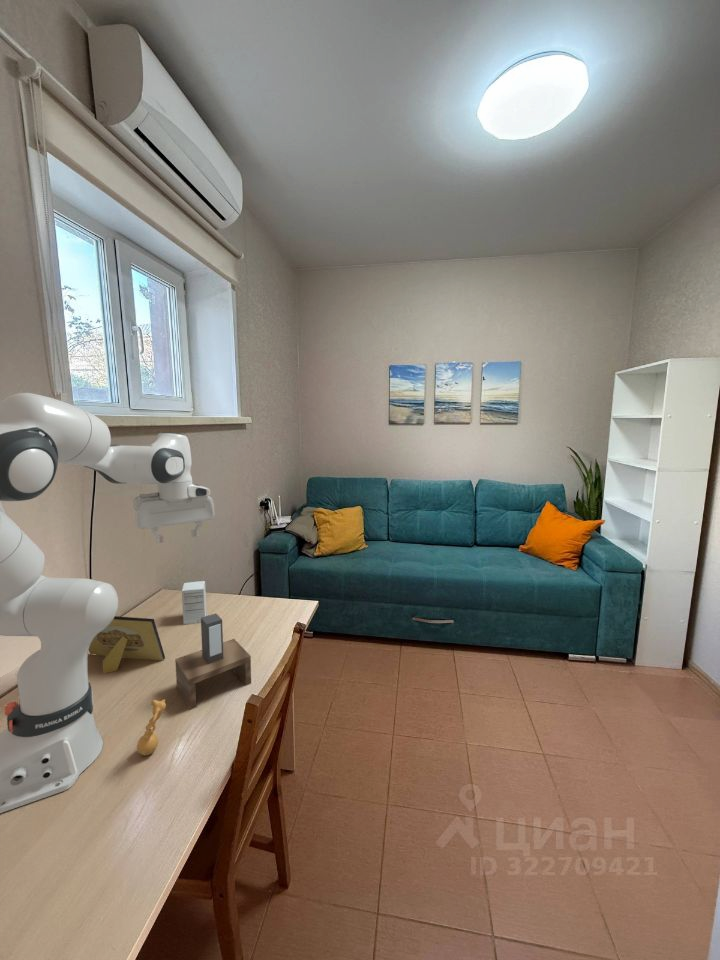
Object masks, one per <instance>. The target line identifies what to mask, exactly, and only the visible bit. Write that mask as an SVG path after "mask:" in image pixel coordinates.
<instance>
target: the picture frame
mask: <svg viewBox="0 0 720 960" xmlns="http://www.w3.org/2000/svg"><path fill="white" fill-rule="evenodd" d="M163 649H164V648H163V646H162V642H161V639H160V636H159V632H158V628H157V625H156V622H155V618H148V617H147V618H144V617H134V616H133V617H130V616H118V615H115V617H114V618H113V620H112V621H111V623H110V624H109V625H108V626H107V627H106V628H105V629H104V630H102V631H101V632H100V633H98V634H97V635H96V636H95V638H94V639H93V640H92V642H91V644H90V647H89V651H88V653H90V654H89V655H91V654H96V655H95V656H98V655H105V656H104V657H105V658H104V659H103V660H102V672H103V673H102V674H107V673H111V672H116V671H118V669H119V666H120V663H121V661H122V658H127V659H136V660H137V659H140V660H150V661H164V660H165V659H166V655H165V653H164V650H163Z"/></svg>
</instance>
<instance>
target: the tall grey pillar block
mask: <svg viewBox="0 0 720 960" xmlns="http://www.w3.org/2000/svg"><path fill="white" fill-rule="evenodd" d="M200 631H201V633H200V634H201V635H200V636H201V650H202V657H203V658H204V659H205V661H206V662H207V663H208V664H210V663H213V662H216V661H218V660H221V659H223V642H224V638H223V637H224V635H223V619H222V618H221V617H220V616H219V614H218V613H212V614H208V615H206V616H205V617H202V618H201V622H200Z"/></svg>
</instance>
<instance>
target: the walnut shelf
mask: <svg viewBox="0 0 720 960" xmlns="http://www.w3.org/2000/svg"><path fill="white" fill-rule="evenodd" d="M251 658H252V657H251V655H250V654H249V652H248V651H247V650H246V649H245V648H244V647H243V646H242V645H241V644H240V643H239V642H238V641H237V640H236V639H235V638H232V639H229V640H227V641H223V659H221V660H218V661H216V662H213V663H210V664H208V663H207V662H206V661H205V659H204V658H203V657H202V649H201V650H198V651H195V652H191V653H189V654H186V655H184V656H181V657H177V658H175V677H176V678H175V679H176V688H177V691H178V692H179V694H180V696H181V697H182V699H183V700H184V702H185V703H186V705H187V708H188V710H193V709H195V708H197V696H196V695H197V693H196V692H197V691H196V683H198V682H199V683H200V682H201V681H203V680H204V681H205V680H206V679H208V678H211V677H214V676H217V675H219V674H221V673H224V672H227V671H229V670H231V669H232V671H233V672H234V673H235V674H236V675H237V677H238V678H239V679H240V680H241V681H242V682H243V684H244V686H249V685H250V684H252V665H251V664H252V662H251V661H252V659H251Z"/></svg>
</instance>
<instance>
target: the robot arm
mask: <svg viewBox="0 0 720 960" xmlns="http://www.w3.org/2000/svg"><path fill="white" fill-rule="evenodd" d="M156 437H157V438H156V440H155V441H154V442H153V443H151V444H149V445H126V444H125V445H124V444H112V443H111V442H112V435H111V432H110V429H109V426H108V425H107V423H106V422H104V421H103V420H102V419H100V418H99V417H98V416H96V415H94V414H93V413H91V412H90V411H87V410H85V409H83V408H80V407H78V406H76V405H73V404H70V403H68V402H65V401H62V400H60V399H57V398H53V397H49V396H45V395H41V394H37V393H33V392H18V393H15V394H12V395H10V396H7V397H6V398H4V399H2V401H1V402H0V636H3V637H37V638H38V639H39V641H40V649H39V650H37V651H35V652H33V653H31V654H30V656H28V657H27V658H26V659H25V660H24V661H23V662H22V663H21V665H20V666H19V668H18V671H17V672H16V673H17V674H16V680H17V692H18V699H19V704H18V702H16V701H10V702H8V703H6V705H5V707H4V715H5V716H6V718H7V719H6V723H7V725H6V726H7V727H6V728H5V729H4V730H2V731H1V732H0V814H2V813H5V812H8V811H10V810H13V809H17V808H20V807H22V806H25V805H28V804H30V803H33V802H37V801H39V800H42V799H44V798H47V797H50V796H53V795H56V794H59V793H63V792H65V791H67V790H68V789H70V788H71V787H72V786H73V785H74V784H75V783H76V781H77V779H78V778H79V776H80V775H81V773H83V772H84V771H85V770H86V769H87V768H88V767H90V765H92V764H93V762H95V760H96V759H97V758H98V757H99V755H100V753H101V751H102V749H103V747H104V746H103V745H104V741H103V738H102V735H101V734H100V732H99V730H98V727H97V725H96V722H95V719H94V717H95V716H94V715H93V711H94V693H93V688H92V686H91V682H89V672H88V670H89V669H88V667H89V666H88V660H89V659H88V656H89V647H90V644H91V642H92V640H93V639H94V638H95V636H96V635H97V634H98V633H100V632H101V631H102V630H104V629H105V628H106V627H107V626H108V625H109V624H110V623H111V621H112V620H113V618H114V617H115V616H117V615H116V614H117V612H118V608H119V597H118V593H117V591H116V589H115V588H114V587H115V586H113V585H112V584H111V583H108V582H104V581H101V580H95V579H91V578H86V577H85V578H84V577H83V578H82V577H79V578H78V577H77V578H76V577H75V578H74V577H51V576H46V575H43V572H44V569H45V563H46V557H45V553H44V552H43V550H41V549H40V547H39V546H38V545H37V544H36V543H35V542H34V541H33V540H32V539H31V538H30V537H29V536H28V535H27V534H26V532H24V531H23V530H22V528H20V527H19V525H18V524H16V523H15V521H14V520H13V519H11V517H9V515H7V514H6V511H5V510H4V509H5V508H4V507H3V504H2V502H21V501H29V500H32V499H35V498H37V497H39V496H41V495H42V494H43V493H44V492H45V491H46V490H47V489H48V488H49V487H50V485H51V484H52V482H53V481H54V478H55V476H56V473H57V470H58V463H59V464H63V465H69V466H78V467H79V466H80V467H85V468H86V469H87V468H88V469H90V470H93V471H95V472H96V473H98V474H99V475H100V476H101V477H102V478H104V479H105V480H106V481H108V482H109V483H112V484H116V485H117V484H145V485H149V484H150V485H157V492H152V493H151V492H150V493H142V494H141V493H140V494H139V495H138V496H135V498H134V500H133V508H134V510H135V526H136V527H137V528H138V529H140V530H147V529H150V532H151V533H153V535H154V536H155V542H156V543H157V544H161V543H164V536H163V535H162V534H159V533H158V532H159V528H160V527H161V528H163V527H168V526H176V525H183V524H191V523H194V524H195V527H194V528H193V529H192V530H190V531H191V537H192V538H196V537H199V535H200V534H199V531H200V530H201V528H202V525H203V522H205V521H211V520H213V519H214V517H215V514H216V513H215V504H214V500H213V498H212V497H211V489H210V488H209V487H207V486H202V485H200V484H196V483H195V484H193V477H192V474H191V469H192V464H193V462H192V461H193V460H192V452H191V451H192V450H191V446H190V445H191V444H190V441H189V438H188V436H186V435H185V434H183V433H178V432H172V431H171V432H170V431H169V432H168V431H166V432H165V431H164V432H159V433H158V434H157V436H156Z"/></svg>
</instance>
